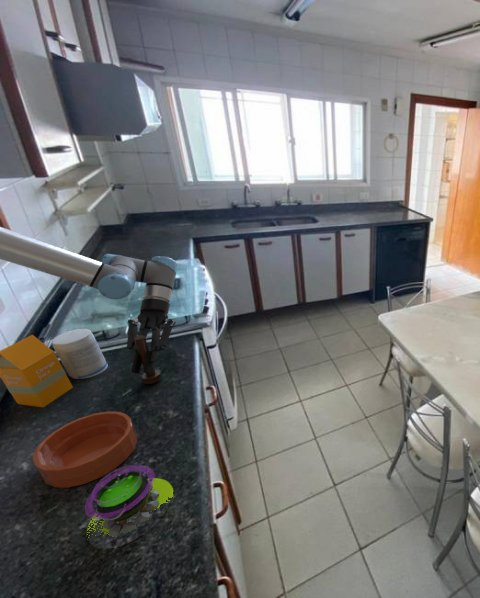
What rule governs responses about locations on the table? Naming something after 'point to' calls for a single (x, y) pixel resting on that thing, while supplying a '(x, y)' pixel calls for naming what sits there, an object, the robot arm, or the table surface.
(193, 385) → the table surface
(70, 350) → the supplement tub
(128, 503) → the toy cauldron
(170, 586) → the table surface
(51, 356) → the orange juice
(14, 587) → the table surface
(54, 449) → the bowl
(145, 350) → the wooden masher
